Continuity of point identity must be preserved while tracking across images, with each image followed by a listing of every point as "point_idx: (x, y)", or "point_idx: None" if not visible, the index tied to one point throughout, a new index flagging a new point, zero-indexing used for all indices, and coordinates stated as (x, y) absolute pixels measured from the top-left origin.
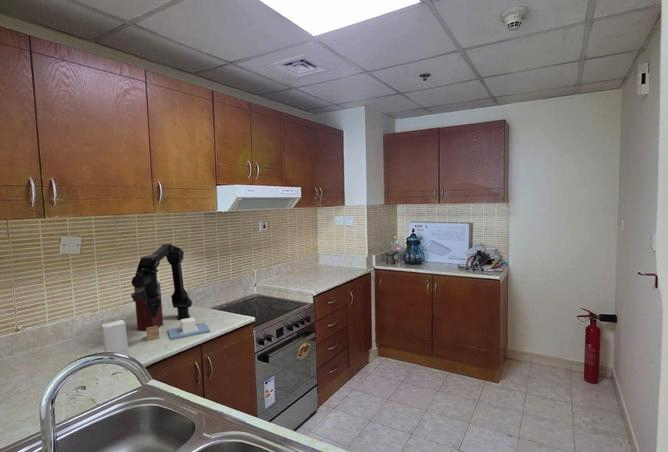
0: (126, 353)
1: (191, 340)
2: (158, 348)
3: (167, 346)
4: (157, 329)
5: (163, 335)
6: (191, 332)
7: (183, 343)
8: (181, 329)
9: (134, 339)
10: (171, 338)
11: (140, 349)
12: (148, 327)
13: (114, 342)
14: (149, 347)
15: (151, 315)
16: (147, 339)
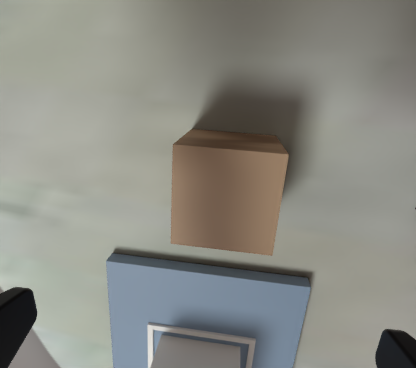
0: None
1: (49, 327)
2: (5, 167)
3: (16, 215)
4: (172, 232)
5: None
6: (137, 365)
7: None
8: (235, 346)
9: (311, 35)
10: (108, 263)
11: (39, 59)
12: (283, 175)
13: None
14: (49, 121)
15: None
16: (203, 131)
